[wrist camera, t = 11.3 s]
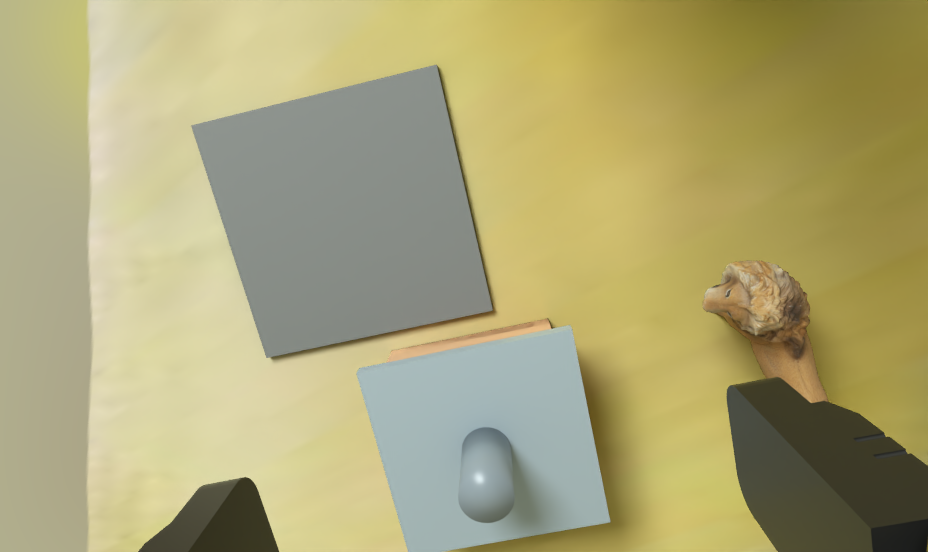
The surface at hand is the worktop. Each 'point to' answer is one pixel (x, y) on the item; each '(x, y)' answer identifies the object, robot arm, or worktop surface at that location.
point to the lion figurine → (770, 321)
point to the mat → (347, 212)
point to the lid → (487, 441)
